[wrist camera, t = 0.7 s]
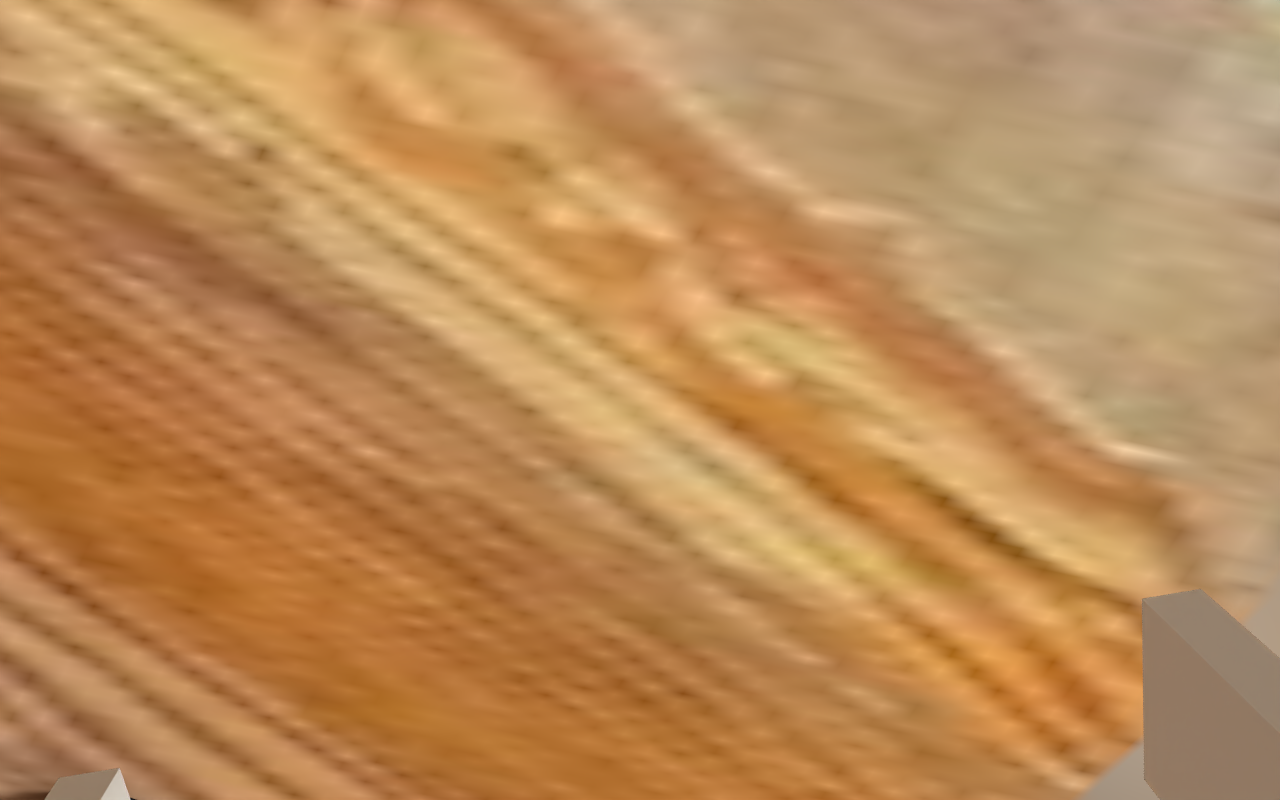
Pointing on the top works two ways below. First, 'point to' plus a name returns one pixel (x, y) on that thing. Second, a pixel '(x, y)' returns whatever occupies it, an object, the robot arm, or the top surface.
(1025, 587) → the top surface
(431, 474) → the top surface
